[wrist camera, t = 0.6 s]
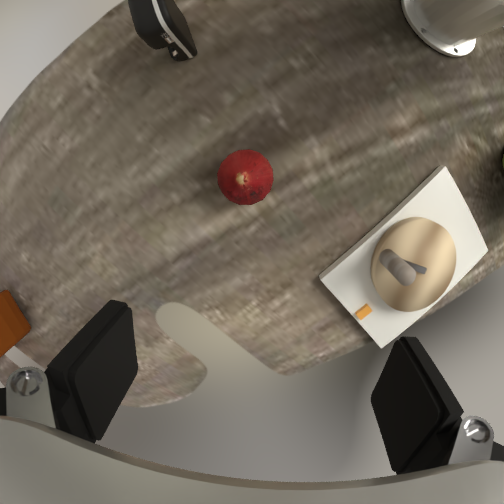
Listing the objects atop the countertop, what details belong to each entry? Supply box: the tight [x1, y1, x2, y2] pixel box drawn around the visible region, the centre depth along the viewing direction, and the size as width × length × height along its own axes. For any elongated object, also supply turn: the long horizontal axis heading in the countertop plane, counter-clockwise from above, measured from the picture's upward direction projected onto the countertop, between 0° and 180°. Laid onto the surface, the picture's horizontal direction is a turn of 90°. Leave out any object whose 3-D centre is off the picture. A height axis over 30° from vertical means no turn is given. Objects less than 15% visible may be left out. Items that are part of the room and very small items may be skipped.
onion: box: [217, 149, 273, 205], centre depth 30 cm, size 6×6×8 cm
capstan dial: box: [370, 217, 456, 312], centre depth 30 cm, size 12×12×8 cm
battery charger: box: [128, 0, 197, 61], centre depth 23 cm, size 7×4×11 cm, turn 18°
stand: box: [319, 166, 488, 348], centre depth 35 cm, size 22×15×2 cm
